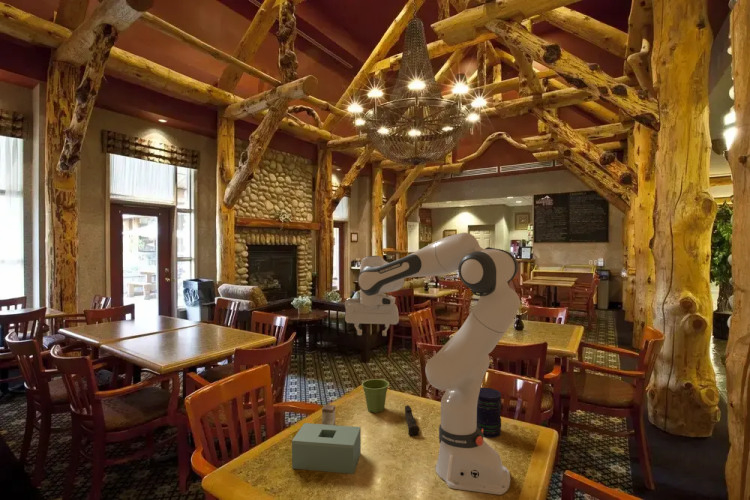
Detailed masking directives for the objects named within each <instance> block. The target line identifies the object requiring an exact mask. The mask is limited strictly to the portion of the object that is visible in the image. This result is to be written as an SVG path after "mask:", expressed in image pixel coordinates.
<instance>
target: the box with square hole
mask: <svg viewBox="0 0 750 500" xmlns="http://www.w3.org/2000/svg"><path fill="white" fill-rule="evenodd" d="M361 429H362V427H361V426H352V425H351V426H350V425H349V426H348V425H336V424H335V425H324V424H322V423H309V422H308V423H305V422H304V423H303V425H302V426H301V427H300V429H299V430H298V431H297V433H296V435H294V437H293V439H292V440H291V468H292V469H295V470H306V471H316V472H326V473H327V472H330V473H337V474H338V473H339V474H351V475H353V474H354V473H355V471H356V468H357V464H358V462H359V459H360V457H361V453H362V451H361V450H362V449H361V448H362V446H361V444H362V443H361V441H362V440H361V438H362V437H361V433H362V432H361V431H362V430H361Z"/></svg>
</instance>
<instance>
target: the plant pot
mask: <svg viewBox="0 0 750 500" xmlns="http://www.w3.org/2000/svg"><path fill="white" fill-rule="evenodd" d="M389 386H390V382H389V381H387V380H386V379H382V378H381V379H380V378H372V379H367V380H364V381H363V382H362V383H361V387H362V388H363V392H364V396H365V403H366V407H367V408H366V409H367V411H368V412H370V413H371V412H372V413H375V414H377V413H381V412H383V411H385V405H386V399H387V392H388V387H389Z"/></svg>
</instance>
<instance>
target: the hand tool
mask: <svg viewBox="0 0 750 500" xmlns="http://www.w3.org/2000/svg"><path fill="white" fill-rule="evenodd" d="M404 413H405V416H404V418H405V421H406V424H407V428H408V436H409V437H417V436H418V435H419V434H420V427H418V425H417V421H416V420H415V417H414V415H413V412H412V407H411V406H410V405H408V404H407V405H405V406H404Z"/></svg>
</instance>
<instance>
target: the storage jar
mask: <svg viewBox="0 0 750 500" xmlns="http://www.w3.org/2000/svg"><path fill="white" fill-rule="evenodd" d="M501 409H502V393H501V392H500V391H499V390H497V389H495V388H492V387H491V388H490V387H481V388H480V392H479V396H478V402H477V427H478V428H479V429H480V430H481V431H482V428H483V438H486V439H487V438H488V439H495V438H498V437H500V436H501V435H502V418H501Z"/></svg>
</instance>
